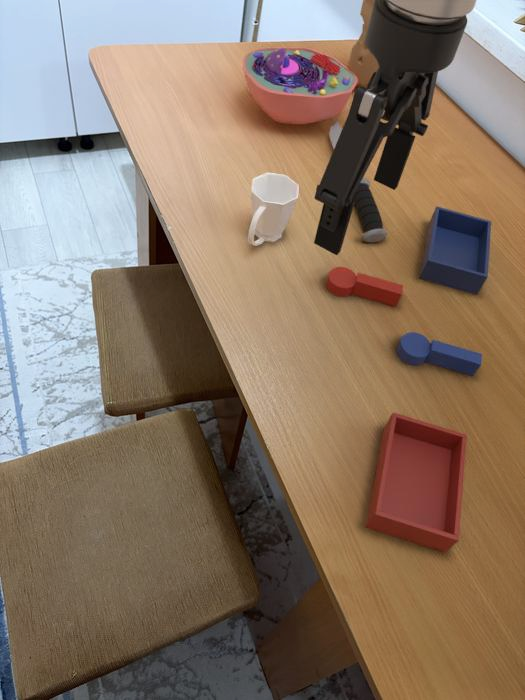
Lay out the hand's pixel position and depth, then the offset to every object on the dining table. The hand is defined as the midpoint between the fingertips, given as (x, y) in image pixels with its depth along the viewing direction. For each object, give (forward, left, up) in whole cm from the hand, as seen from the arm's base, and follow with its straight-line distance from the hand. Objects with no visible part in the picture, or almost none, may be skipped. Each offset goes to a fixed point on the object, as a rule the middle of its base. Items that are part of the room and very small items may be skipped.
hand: (357, 213), depth 63 cm
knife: (+29, -10, -19) cm, 36 cm away
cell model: (+48, -4, -18) cm, 52 cm away
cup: (+16, +6, -19) cm, 25 cm away
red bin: (-24, -5, -18) cm, 30 cm away
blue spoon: (-7, -13, -18) cm, 24 cm away
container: (+59, -23, -18) cm, 66 cm away
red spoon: (+5, -6, -18) cm, 20 cm away
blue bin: (+11, -22, -18) cm, 31 cm away
